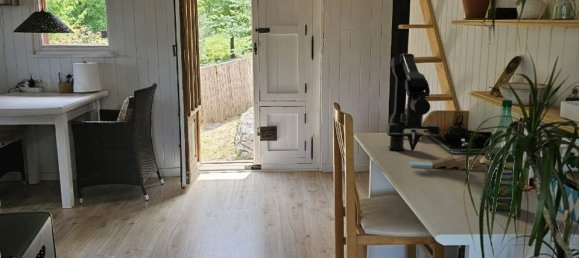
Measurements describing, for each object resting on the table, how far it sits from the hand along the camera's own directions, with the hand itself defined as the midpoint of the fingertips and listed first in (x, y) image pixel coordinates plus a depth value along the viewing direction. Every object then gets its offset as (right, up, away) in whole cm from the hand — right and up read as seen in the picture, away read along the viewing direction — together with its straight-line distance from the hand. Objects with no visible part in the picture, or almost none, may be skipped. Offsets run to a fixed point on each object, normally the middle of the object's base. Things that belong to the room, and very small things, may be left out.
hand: (412, 150), depth 208 cm
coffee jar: (+16, -16, -44) cm, 49 cm away
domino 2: (+8, -6, 0) cm, 10 cm away
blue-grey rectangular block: (0, -6, +1) cm, 6 cm away
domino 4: (+17, -6, -1) cm, 18 cm away
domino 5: (+21, -6, -1) cm, 22 cm away
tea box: (+11, +4, +53) cm, 55 cm away
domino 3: (+13, -6, 0) cm, 14 cm away
